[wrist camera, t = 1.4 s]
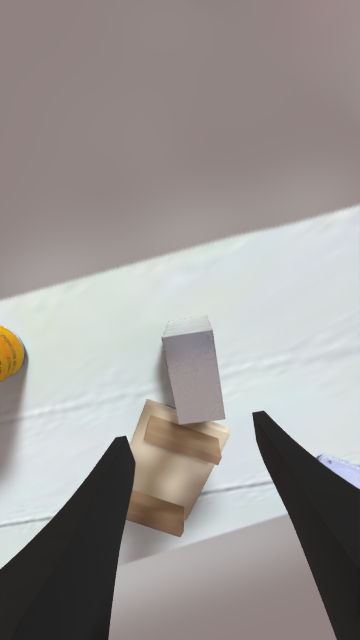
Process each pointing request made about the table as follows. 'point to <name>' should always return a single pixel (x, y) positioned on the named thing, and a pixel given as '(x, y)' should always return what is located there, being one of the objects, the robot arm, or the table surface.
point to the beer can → (10, 352)
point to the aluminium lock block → (193, 370)
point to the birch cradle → (171, 466)
